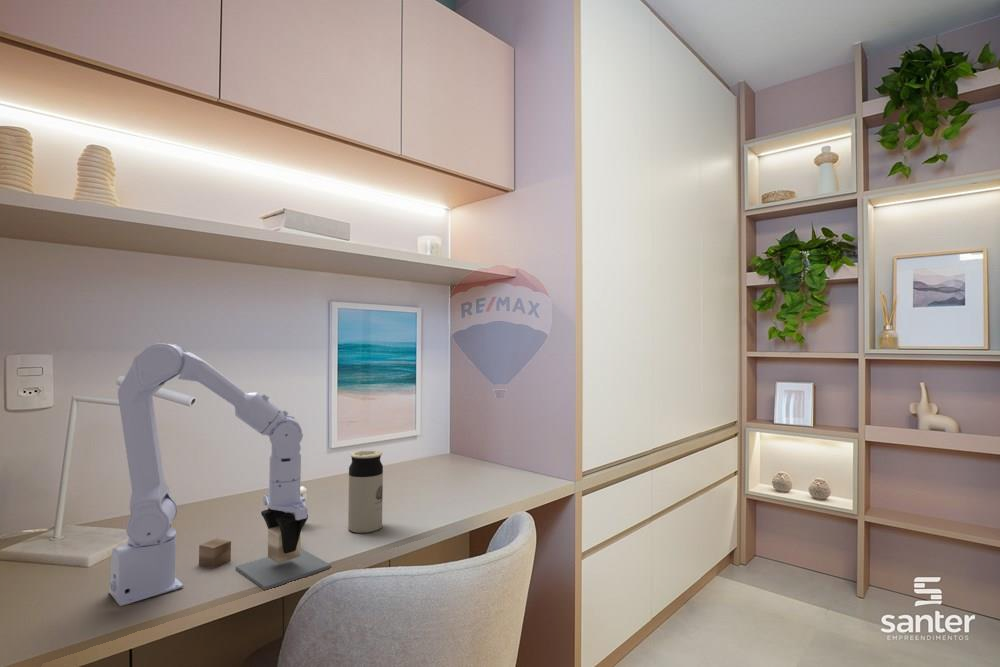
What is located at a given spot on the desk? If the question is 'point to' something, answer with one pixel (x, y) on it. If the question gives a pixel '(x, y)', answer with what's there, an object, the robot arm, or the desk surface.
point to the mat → (282, 569)
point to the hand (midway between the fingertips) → (283, 548)
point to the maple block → (279, 547)
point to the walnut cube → (214, 553)
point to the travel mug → (365, 491)
